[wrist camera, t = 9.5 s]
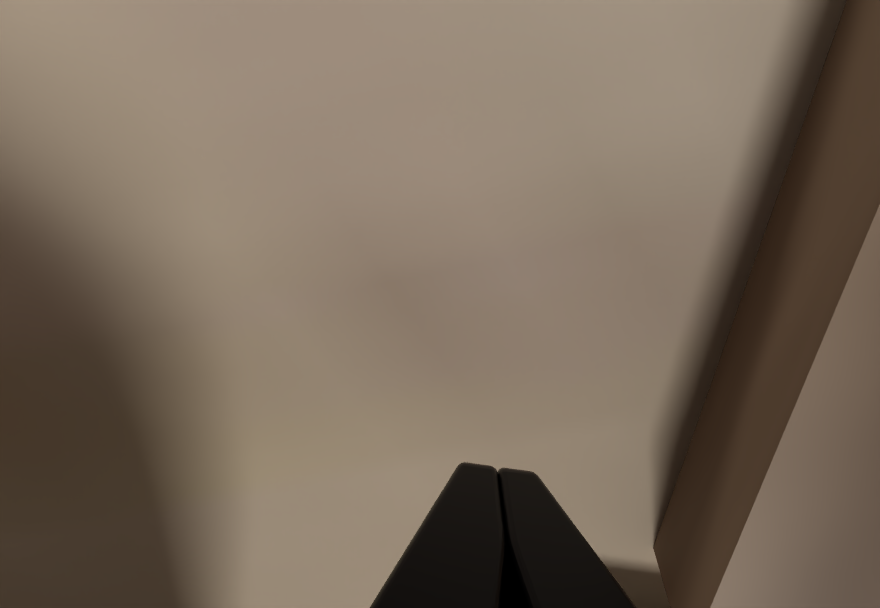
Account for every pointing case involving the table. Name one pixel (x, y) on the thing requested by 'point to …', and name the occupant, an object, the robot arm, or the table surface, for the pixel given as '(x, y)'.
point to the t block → (798, 378)
